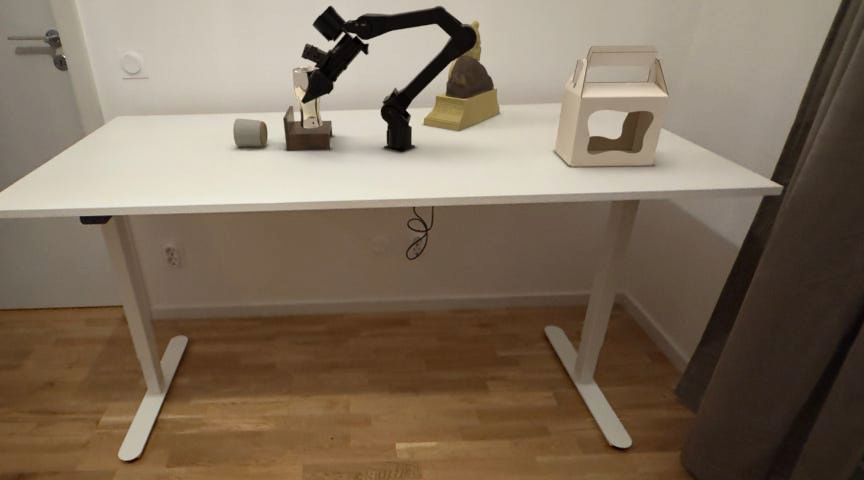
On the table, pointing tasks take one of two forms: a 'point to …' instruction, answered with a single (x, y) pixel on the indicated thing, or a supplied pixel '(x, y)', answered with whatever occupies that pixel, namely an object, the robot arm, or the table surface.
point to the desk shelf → (305, 134)
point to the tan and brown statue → (465, 93)
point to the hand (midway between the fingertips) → (303, 99)
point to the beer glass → (301, 85)
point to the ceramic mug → (250, 133)
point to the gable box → (632, 97)
